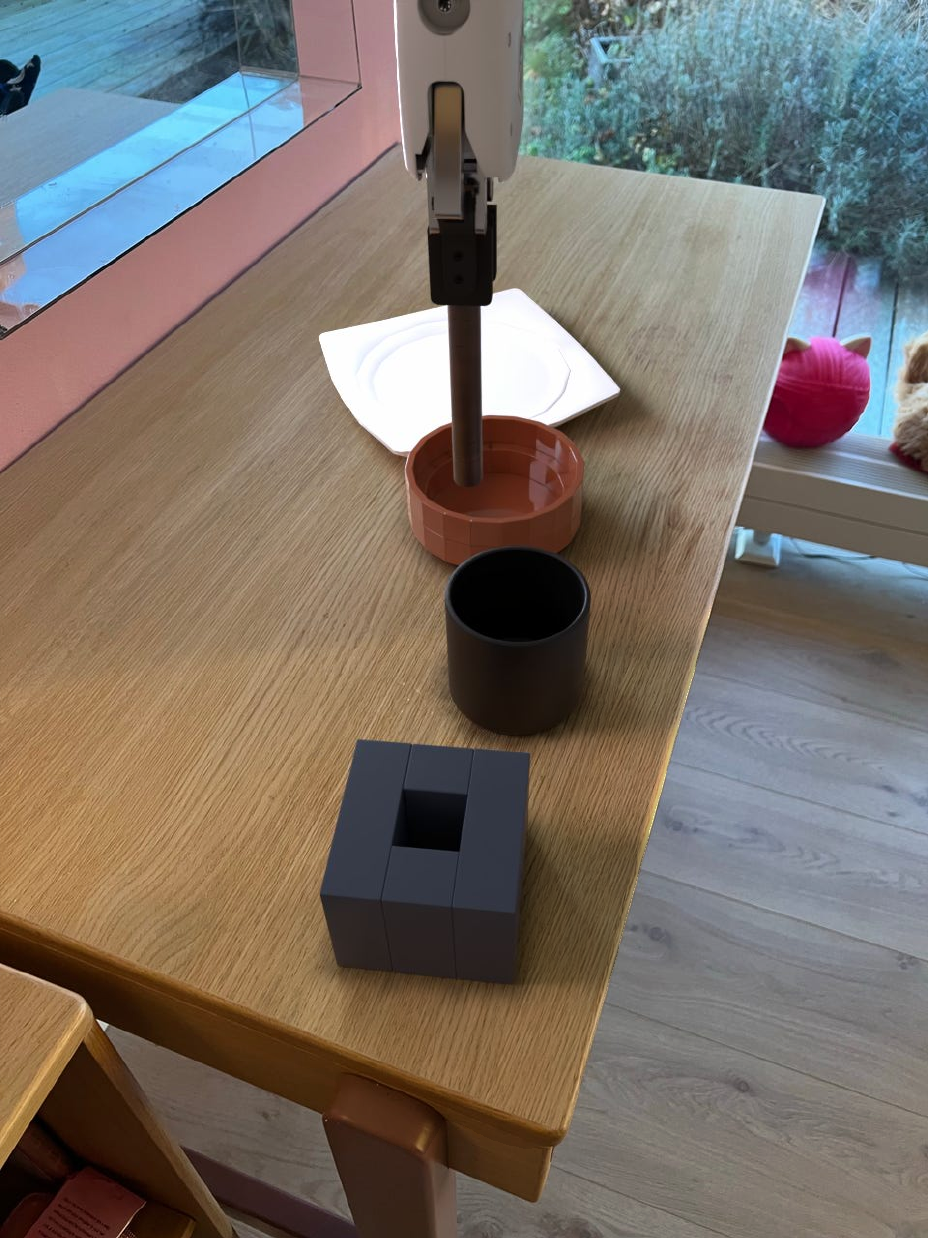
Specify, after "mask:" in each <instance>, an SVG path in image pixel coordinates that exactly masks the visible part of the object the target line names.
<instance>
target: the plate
mask: <svg viewBox="0 0 928 1238" xmlns="http://www.w3.org/2000/svg"><path fill="white" fill-rule="evenodd" d="M318 340H319V343H320V346H321V351H322V353H323V356H324V359H325V360H324V361H325V363H326V365H327V369H328V372H329V375H330V380H331V382H332V383H333V385H334V387H335V389H336V390H337V392H338V394H339V396H340V397H341V400H342V402H343V403H344V404H345V406H346V407H347V408H348V410H349V411H350V412H351V414H352V415H353V417H354V418H355V419H356V421H357V422H358V424H359V425H361V427H363V428H364V429H365V430H366V431H367V432H369V434H371V435H372V436H373V437H374V438H375V439H376V440H377V441H378V442H380V444H382V445H383V446H385V448H386V449H388V450H389V451H390V453H392V454H393V455H396V456H401V457H404V458H408V455H409V453H410V451H411V450H412V449H413V448H414V446H415V445H416V444H417V443H418V442H419V440H420V439H421V438H422V437H424V436H425V435H427V434H429V433H430V432H432V431H433V430H435V429H437V428H438V427H440V426H442V425H445V424H448V423H451V422H452V417H451V390H450V364H449V338H448V311H447V305H441V306H438V307H434V308H429V309H425V310H422V311H417V312H416V311H415V312H412V313H408V314H404V315H399V316H395V317H391V318H387V319H383V320H379V321H373V322H369V323H365V324H360V325H355V326H350V327H345V328H340V329H336V330H331V331H326V332H322V333H321V334H320V335H319V336H318ZM481 362H482V416H484V415H505V416H518V417H522V418H526V419H531V420H535V421H539V422H542V423H544V424H546V425H548V426H550V427H552V428H554V429H555V428H557V427H559V426H561V425H563V424H565V423H567V422H569V421H572V420H573V419H575V418H577V417H579V416H581V415H583V414H585V413H587V412H589V411H591V410H593V409H595V408H598V407H600V406H601V405H603V404H606V403H608V402H609V401H611V400H614V399H616V398H617V397H619V395H620V393H621V388H620V387H619V386H618V384H617V383H616V382H615V381H614V379H612V377H611V376H610V375H609V374H608V373H607V372H606V370H604V369H603V367H602V365H600V364H599V363H598V362H597V360H596V359H595V358H594V357H593V356H592V355H591V354H590V353H589V352H588V351H587V350H586V349H585V348H584V347H583V346H582V345H581V344H580V343H579V341H578V340H576V338H574V336H572V335H571V333H569V332H568V331H567V330H566V329H565V328H564V327H562V325H560V323H558V322H557V321H556V320H555V319H554V318H553V317H552V316H551V315H550V314H548V313H547V312H546V310H544V309H543V308H542V307H540V305H538V304H537V303H536V302H535V301H534V300H533V299H532V298H530V297H529V296H528V295H527V294H526V293H525V292H524V291H522V290H521V289H520V288H515V287H514V288H509V289H505V290H502V291H498V292H493V297H492V302H491V304H490V305H488V306H481Z"/></svg>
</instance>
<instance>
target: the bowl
mask: <svg viewBox="0 0 928 1238" xmlns="http://www.w3.org/2000/svg"><path fill="white" fill-rule="evenodd" d="M482 444H483V480H482V482H481V483H480V484H479V485H477V486H474V487H462V486H459V485H458V484H456V483H455V481H454V470H453V443H452V422H451V423H448V424H445V425H442V426H440V427H438V428H437V429H435V430H433V431H432V432H430V433H429V434H427V435H425V436H424V437H422V438H421V439H420V440H419V442H418V443H417V444H416V445H415V446H414V448H413V449H412V450H411V451H410V453H409V455H408V457H407V458H406V463H405V467H404V477H405V479H404V480H405V491H406V503H407V514H408V515H407V516H408V521H409V524H410V525H409V526H410V528H411V532H412V535H413V536H414V537H415V539H416V540H417V541H418V542H419V543H420V544H421V546H422V547H423V549H424V550H426V551H427V552H429V553H430V554H432V555H433V556H435V557H437V558H438V559H440V560H442V561H444V562H445V563H449V564H452V565H456V566H458V567H459V566H460V565H461V564H462V563H463V562H465V561H466V560H468V559H469V558H471V557H472V556H474V555H476V554H479V553H481V552H484V551H487V550H489V549H494V548H498V547H505V546H529V547H536V548H541V549H544V550H548V551H551V552H553V553H556V554H558V553H559V552H560V551H562V550H563V549H565V548H566V547H567V546H568V545H570V544H571V542H572V541H573V539H574V537H575V535H576V534H577V532H578V530H579V528H580V526H581V516H582V503H583V491H584V477H585V475H584V474H585V460H584V458H583V457H582V454H581V451H580V450H579V447H578V445H577V444H576V443H575V442H573V441H572V440H571V439H570V438H569V437H568V436H567V435H565V434H564V432H563V431H560V430H558V429H557V428H555V427H554V428H552V427H550V426H548V425H546V424H544V423H542V422H539V421H535V420H531V419H526V418H522V417H518V416H505V415H484V416H482Z"/></svg>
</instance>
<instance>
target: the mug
mask: <svg viewBox="0 0 928 1238" xmlns="http://www.w3.org/2000/svg"><path fill="white" fill-rule="evenodd" d="M591 604H592V594H591V588H590V585H589V582H588V580H587V578H586V577H585V575H584V574H583V572H582V571H581V570H580V568H578V566H577V565H575V564H574V563H573V562H571V561H570V560H568V559H567V558H565V557H564V556H562V555H560V554H558V553H557V554H556V553H553V552H551V551H548V550H544V549H541V548H536V547H529V546H505V547H498V548H494V549H489V550H487V551H484V552H481V553H479V554H476V555H474V556H472V557H471V558H469V559H468V560H466V561H465V562H463V563H462V564H461V565H460V566H459V565H458V567H456V569H455V570H454V571H453V573H452V574H451V575H450V577H449V579H448V581H447V582H446V586H445V590H444V615H445V633H446V650H447V651H446V652H447V669H448V670H447V671H448V672H447V673H448V686H449V687H448V688H449V693H450V696H451V698H452V700H453V702H454V704H455V705H456V707H457V708H458V709H459V711H460V712H461V713H462V714H463V716H464V717H465V718H467V719H468V720H469V721H471V722H472V723H473V724H475V725H477V726H479V727H481V728H482V729H484V730H487V731H489V732H493V733H497V734H500V735H507V736H527V735H528V736H529V735H534V734H538V733H542V732H545V731H548V730H550V729H552V728H553V727H556V726H557V725H559V724H561V723H562V722H564V721H565V719H567V718H568V717H569V716H570V715H571V714H572V712H573V711H574V710H575V709H576V708H577V706H578V704H579V703H580V701H581V698H582V695H583V691H584V684H585V683H584V681H585V671H586V659H587V651H588V639H589V627H590V617H591V615H590V614H591V606H592V605H591Z"/></svg>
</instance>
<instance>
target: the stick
mask: <svg viewBox="0 0 928 1238" xmlns="http://www.w3.org/2000/svg"><path fill="white" fill-rule="evenodd" d="M464 190H472V194H473V197H474V185H464ZM447 311H448V338H449V364H450V390H451V417H452V443H453V470H454V481H455V483H456V484H458V485H459V486H462V487H474V486H477V485H479V484H480V483H481V482H482V480H483V444H482V362H481V306H456V305H447Z"/></svg>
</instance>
